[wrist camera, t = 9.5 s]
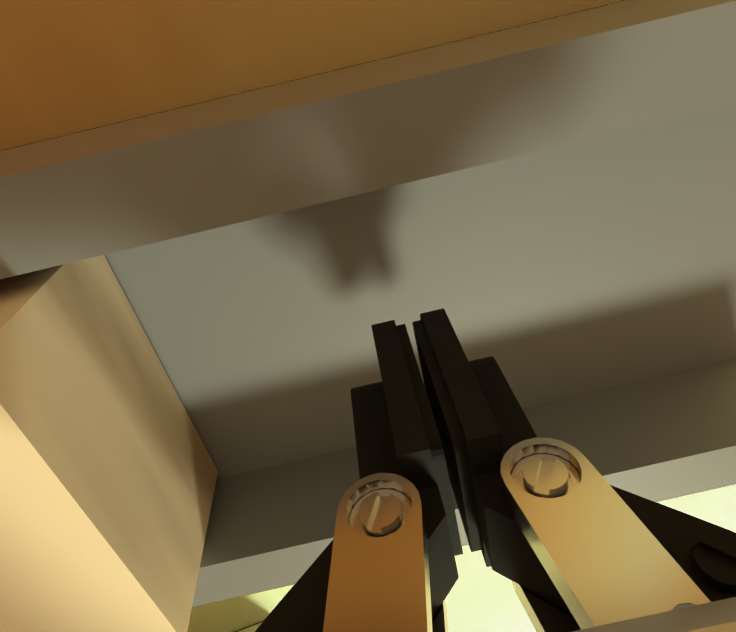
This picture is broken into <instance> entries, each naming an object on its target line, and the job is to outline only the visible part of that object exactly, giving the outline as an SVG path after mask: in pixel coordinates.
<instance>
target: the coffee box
mask: <svg viewBox="0 0 736 632" xmlns="http://www.w3.org/2000/svg"><path fill="white" fill-rule="evenodd" d="M261 624H262V622H261V623H259V624H256V625H253V626H251V627H248V628H245V629H243V630H240V631H237V632H255V631H256V629H257V628H258V627H259V626H260V625H261Z"/></svg>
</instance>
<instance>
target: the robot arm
mask: <svg viewBox="0 0 736 632" xmlns="http://www.w3.org/2000/svg"><path fill="white" fill-rule="evenodd" d="M412 324H413V330H414V335H415V340H416V345H417V350H418V355H419V361H420V366H421V371H422V376H423V380H422V377H421V374H420V370H419V367H418V364H417V361H416V357H415V354H414V351H413V348H412V345H411V341H410V338H409V335H408V332H407V328H406V325H405V324H402V325H397V326H396V324H395V320H391V321H387V322H382V323H378V324H374V325H371V327H372V332H373V337H374V342H375V347H376V352H377V358H378V363H379V368H380V373H381V378H382V381H381V382H377V383H372V384H368V385H364V386H359V387H355V388H351V390H350V391H351V402H352V411H353V420H354V430H355V439H356V448H357V458H358V467H359V476H360V480H358V481H356V482H355V483H354V484H353V485H352V486H350V487H349V488H348V489H347V490H346V492H345V493H344V495H343V496H342V498H341V499H340V502H339V506H338V509H337V515H336V523H335V532H334V539H333V540H332V541H331V542H330V544H329V545H328V546H327V547H326V548H325V549H324V551H323V552H322V553H321V554H320V555H319V556H318V558H317V559H316V560H315V561H314V562H313V564H312V565H311V566H310V567H309V568H308V569H307V571H306V572H305V573H304V574H303V575H302V577H301V578H300V579H299V580H298V581H297V582H296V584H295V585H294V586H293V587H292V588H291V589H290V591H289V592H288V593H287V594H286V595H285V597H284V598H283V599H282V600H281V601H280V602H279V604H278V605H277V606H276V607H275V608H274V609H273V611H272V612H271V613H270V614H269V615H268V617H267V618H266V619H265V620H264V621H263V622H262V624H261V625H260V626H259V627H258V628H257V629H256V631H255V632H448V623H447V611H446V605H445V601H444V600H445V598H446V596H447V595H448V593H449V592H450V590H451V588H452V587H453V585H454V584H455V582H456V580H457V579H458V572H457V567H456V562H455V557H454V556H455V555H460V554H463V551H462V546H461V540H460V535H459V530H458V524H457V519H456V514H455V508H454V503H453V497H452V492H451V487H452V490H453V493H454V497H455V500H456V503H457V507H458V510H459V513H460V517H461V520H462V523H463V527H464V530H465V533H466V537H467V540H468V543H469V546H470V549H471V552H473V551H478V550H482V554H483V557H484V560H485V563H486V566H487V567H489V566H492V569H493V570H494V571H496V572H498V573H499V574H501V575H503V576H505V577H507V578H508V579H510V580H512V582H513V585H514V588H515V591H516V593H517V595H518V597H519V599H520V601H521V603H522V605H523V607H524V609H525V610H526V612H527V614H528V616H529V618H530V620H531V622H532V624H533V626H534V628H535V629H536V631H537V632H736V533H734V532H732V531H730V530H727V529H724V528H722V527H719V526H717V525H714V524H711V523H709V522H706V521H703V520H701V519H698V518H696V517H693V516H690V515H688V514H685V513H683V512H680V511H677V510H675V509H672V508H669V507H667V506H664V505H662V504H659V503H656V502H654V501H651V500H648V499H646V498H643V497H641V496H638V495H635V494H633V493H630V492H628V491H625V490H622V489H620V488H617V487H614V486H612V485H609V483H608V482H607V481H606V480H605V479H604V478H603V477H602V475H601V474H600V473H599V472H598V471H597V470H596V468H595V467H594V466H593V465H592V464H591V463H590V462H589V460H588V459H587V458H586V457H585V456H584V455H583V454H582V453H581V452H580V451H579V450H577V449H576V448H575V447H574V446H572V445H569V444H567V443H565V442H563V441H560V440H556V439H552V438H538V437H537V436H536V434H535V432H534V430H533V428H532V426H531V424H530V423H529V421H528V419H527V417H526V415H525V413H524V412H523V410H522V408H521V406H520V404H519V402H518V400H517V399H516V397H515V395H514V393H513V391H512V389H511V388H510V386H509V384H508V382H507V380H506V378H505V377H504V375H503V373H502V371H501V369H500V367H499V365H498V364H497V362H496V360H495V359H494V357H492V356H489V357H485V358H481V359H476V360H472V361H468V359H467V357H466V355H465V353H464V351H463V348H462V346H461V344H460V342H459V340H458V338H457V335H456V333H455V331H454V329H453V327H452V325H451V322H450V320H449V318H448V316H447V314H446V311H445V310H444V308H442V309H438V310H434V311H429V312H425V313H421V314H420V320H419V321H414V322H412ZM423 381H424V383H423ZM449 480H450V481H449ZM450 483H451V487H450Z"/></svg>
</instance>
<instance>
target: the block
mask: <svg viewBox="0 0 736 632" xmlns="http://www.w3.org/2000/svg"><path fill="white" fill-rule="evenodd" d="M217 474H218V471H217V469H216V467H215V465H214V463H213V461H212V459H211V457H210V455H209V454H208V452H207V450H206V448H205V446H204V444H203V442H202V440H201V438H200V436H199V434H198V433H197V431H196V429H195V427H194V425H193V423H192V421H191V419H190V417H189V415H188V414H187V412H186V410H185V408H184V406H183V404H182V402H181V400H180V398H179V396H178V395H177V393H176V391H175V389H174V387H173V385H172V383H171V381H170V379H169V377H168V375H167V374H166V372H165V370H164V368H163V366H162V364H161V362H160V360H159V358H158V356H157V355H156V353H155V351H154V349H153V347H152V345H151V343H150V341H149V339H148V337H147V336H146V334H145V332H144V330H143V328H142V326H141V324H140V322H139V320H138V318H137V316H136V315H135V313H134V311H133V309H132V307H131V305H130V303H129V301H128V299H127V297H126V296H125V294H124V292H123V290H122V288H121V286H120V284H119V282H118V280H117V278H116V277H115V275H114V273H113V271H112V269H111V267H110V265H109V263H108V261H107V259H106V257H105V256H104V255H101V256H97V257H92V258H88V259H84V260H80V261H75V262H71V263H67V264H63V265H59V266H54V267H50V268H46V269H42V270H38V271H33V272H29V273H25V274H21V275H16V276H12V277H8V278H4V279H0V632H187V631H188V626H189V620H190V615H191V610H192V605H193V599H194V594H195V589H196V584H197V579H198V573H199V568H200V563H201V558H202V552H203V547H204V542H205V537H206V532H207V526H208V521H209V516H210V511H211V505H212V500H213V495H214V490H215V485H216V479H217Z"/></svg>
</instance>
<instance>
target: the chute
mask: <svg viewBox="0 0 736 632" xmlns="http://www.w3.org/2000/svg"><path fill="white" fill-rule="evenodd" d="M101 255H104V256H105V257H106V259H107V261H108V263H109V265H110V267H111V269H112V271H113V273H114V275H115V277H116V278H117V280H118V282H119V284H120V286H121V288H122V290H123V292H124V294H125V296H126V297H127V299H128V301H129V303H130V305H131V307H132V309H133V311H134V313H135V315H136V316H137V318H138V320H139V322H140V324H141V326H142V328H143V330H144V332H145V334H146V336H147V337H148V339H149V341H150V343H151V345H152V347H153V349H154V351H155V353H156V355H157V356H158V358H159V360H160V362H161V364H162V366H163V368H164V370H165V372H166V374H167V375H168V377H169V379H170V381H171V383H172V385H173V387H174V389H175V391H176V393H177V395H178V396H179V398H180V400H181V402H182V404H183V406H184V408H185V410H186V412H187V414H188V415H189V417H190V419H191V421H192V423H193V425H194V427H195V429H196V431H197V433H198V434H199V436H200V438H201V440H202V442H203V444H204V446H205V448H206V450H207V452H208V454H209V455H210V457H211V459H212V461H213V463H214V465H215V467H216V469H217V471H218V474H217V479H216V485H215V490H214V495H213V500H212V505H211V511H210V516H209V521H208V526H207V532H206V537H205V542H204V547H203V552H202V558H201V563H200V568H199V573H198V579H197V584H196V589H195V594H194V599H193V605H192V607H196V606H201V605H205V604H209V603H214V602H218V601H223V600H227V599H231V598H236V597H240V596H245V595H249V594H253V593H258V592H262V591H267V590H271V589H275V588H280V587H284V586H289V585H293V584H296V582H297V581H298V580H299V579H300V578H301V577H302V575H303V574H304V573H305V572H306V571H307V569H308V568H309V567H310V566H311V565H312V564H313V562H314V561H315V560H316V559H317V558H318V556H319V555H320V554H321V553H322V552H323V551H324V549H325V548H326V547H327V546H328V545H329V544H330V542H331V541H332V540H333V539H334V532H335V523H336V515H337V509H338V506H339V502H340V499H341V498H342V496H343V495H344V493H345V492H346V490H347V489H348V488H349V487H350V486H352V485H353V484H354V483H355V482H356V481H358V480H360V476H359V467H358V458H357V448H356V439H355V430H354V420H353V411H352V402H351V391H350V390H351V388H355V387H359V386H364V385H368V384H372V383H377V382H381V381H382V378H381V373H380V368H379V363H378V358H377V352H376V347H375V342H374V337H373V332H372V327H371V325H374V324H378V323H382V322H387V321H391V320H395V324H396V326H397V325H402V324H405V325H406V328H407V332H408V335H409V338H410V341H411V345H412V348H413V351H414V354H415V357H416V361H417V364H418V367H419V370H420V374H421V377H422V380H423V376H422V371H421V366H420V361H419V355H418V350H417V345H416V340H415V335H414V330H413V324H412V322H414V321H419V320H420V314H421V313H425V312H429V311H434V310H438V309H442V308H444V310H445V311H446V314H447V316H448V318H449V320H450V322H451V325H452V327H453V329H454V331H455V333H456V335H457V338H458V340H459V342H460V344H461V346H462V348H463V351H464V353H465V355H466V357H467V359H468V361H472V360H476V359H481V358H485V357H489V356H492V357H494V359H495V360H496V362H497V364H498V365H499V367H500V369H501V371H502V373H503V375H504V377H505V378H506V380H507V382H508V384H509V386H510V388H511V389H512V391H513V393H514V395H515V397H516V399H517V400H518V402H519V404H520V406H521V408H522V410H523V412H524V413H525V415H526V417H527V419H528V421H529V423H530V424H531V426H532V428H533V430H534V432H535V434H536V436H537V437H538V438H552V439H556V440H560V441H563V442H565V443H567V444H569V445H572V446H574V447H575V448H576V449H577V450H579V451H580V452H581V453H582V454H583V455H584V456H585V457H586V458H587V459H588V460H589V462H590V463H591V464H592V465H593V466H594V467H595V468H596V470H597V471H598V472H599V473H600V474H601V475H602V477H603V478H604V479H605V480H606V481H607V482H608V483H609V485H612V486H614V487H617V488H620V489H622V490H625V491H628V492H630V493H633V494H635V495H638V496H641V497H643V498H646V499H648V500H651V501H654V502H659V501H663V500H667V499H672V498H676V497H681V496H685V495H689V494H694V493H698V492H703V491H707V490H711V489H716V488H720V487H725V486H729V485H733V484H736V0H626V1H622V2H618V3H613V4H609V5H605V6H601V7H597V8H593V9H589V10H584V11H580V12H576V13H572V14H568V15H564V16H559V17H555V18H551V19H547V20H543V21H539V22H535V23H530V24H526V25H522V26H518V27H514V28H510V29H505V30H501V31H497V32H493V33H489V34H485V35H481V36H476V37H472V38H468V39H464V40H460V41H456V42H452V43H447V44H443V45H439V46H435V47H431V48H427V49H422V50H418V51H414V52H410V53H406V54H402V55H398V56H393V57H389V58H385V59H381V60H377V61H373V62H369V63H364V64H360V65H356V66H352V67H348V68H344V69H339V70H335V71H331V72H327V73H323V74H319V75H315V76H310V77H306V78H302V79H298V80H294V81H290V82H285V83H281V84H277V85H273V86H269V87H265V88H261V89H256V90H252V91H248V92H244V93H240V94H236V95H232V96H227V97H223V98H219V99H215V100H211V101H207V102H202V103H198V104H194V105H190V106H186V107H182V108H178V109H173V110H169V111H165V112H161V113H157V114H153V115H149V116H144V117H140V118H136V119H132V120H128V121H124V122H119V123H115V124H111V125H107V126H103V127H99V128H95V129H90V130H86V131H82V132H78V133H74V134H70V135H65V136H61V137H57V138H53V139H49V140H45V141H41V142H36V143H32V144H28V145H24V146H20V147H16V148H12V149H7V150H3V151H0V279H4V278H8V277H12V276H16V275H21V274H25V273H29V272H33V271H38V270H42V269H46V268H50V267H54V266H59V265H63V264H67V263H71V262H75V261H80V260H84V259H88V258H92V257H97V256H101ZM423 383H424V381H423ZM449 481H450V480H449ZM450 487H451V483H450ZM451 492H452V497H453V503H454V508H455V514H456V519H457V524H458V530H459V535H460V540H461V546H465V545H469V543H468V540H467V537H466V533H465V530H464V527H463V523H462V520H461V517H460V513H459V510H458V507H457V503H456V500H455V497H454V493H453V490H452V487H451Z"/></svg>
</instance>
